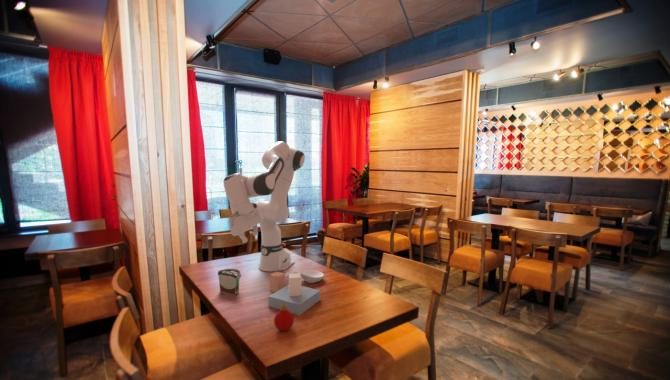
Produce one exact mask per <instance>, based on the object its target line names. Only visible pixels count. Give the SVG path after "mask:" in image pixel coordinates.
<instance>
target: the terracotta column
mask: <svg viewBox="0 0 670 380" xmlns="http://www.w3.org/2000/svg"><path fill="white" fill-rule="evenodd" d="M284 287H286V280H285V273H284V272H280V271H274V272H273V273H270V274H269V292H273V293H275V292H277V291H279V290H280V289H282V288H284Z"/></svg>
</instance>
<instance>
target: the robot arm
mask: <svg viewBox="0 0 670 380" xmlns="http://www.w3.org/2000/svg"><path fill="white" fill-rule="evenodd" d="M305 157H306V156H305V153H304V152H303V151H301V150H299V149H294V148H292V147H290V146H289V144H288V143H287V142H285V141H276V142H274V144H272V145H271V146H269V147H268V149H267V150H266V151H265V153H263V155H262V157H261V162H262V163H261V164H262V165H263V167H264V169H266V170H265V172H263V173H260V174H257V175H254V176H253V175H252V176H249V177H248V176H245V175H242V174H241V173H240V172H234V173H231V174H229V175H227V176H225V177H224V179H223V188H224V191H225V196H226V197H227V199H228V202H229V209H230V211H231V214H230V216H229V221H228V224H229V229H230V233H231V235H232V236H233V237H239V239H240V240H241V241H242V243H243V244H245V243H247V242H249V240H248V237H246V236H245V235H246V234H245V232H247V231H249V230H250V229H252V230H253V231H252V234H253V236H258V235H259V232H258V227H260V232H261V234H260V235H261V244H260V257H259V263H258V269H259V270H260V271H263V272H280V271H285V270H287V269H288V268H289V267H291V266H292V265H294V264H295V261H294V260H293V259H291V254H290V252H288V251H287V250H285V249H284V247H286V245H287V244H286V243H285V242H282V231H281V228H280V227H279V225H278V223H280V222H281V223H282V222H285V221H287V219H288V218H289V216H290V210H289V207H288V194H289V191H290V189H291V185H292V183H293V179H294V175H295V172H296V171H297V170H299V169H301V168H302V167H303V166H304V164H305ZM264 196H265V197H266V196H270V200H261V201H258V202H252V201H251V200H250V199H253V198H257V197H264ZM258 225H259V226H258Z"/></svg>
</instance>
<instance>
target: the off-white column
mask: <svg viewBox="0 0 670 380" xmlns="http://www.w3.org/2000/svg"><path fill="white" fill-rule="evenodd" d="M288 285H289V296H299V295H301V286H302V277H301V275H300V273H294V274H289V276H288Z"/></svg>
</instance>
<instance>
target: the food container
mask: <svg viewBox="0 0 670 380" xmlns="http://www.w3.org/2000/svg"><path fill="white" fill-rule="evenodd" d="M217 276H218V284H219V292H220V293H223V294H227V295H231V296H237V295H238V294H239V292H240V291H239V290H240V280H241V279H240V278H241V277H242V274H241V271H240V270H239V269H238V268H224V269H220V270H218V271H217Z"/></svg>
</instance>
